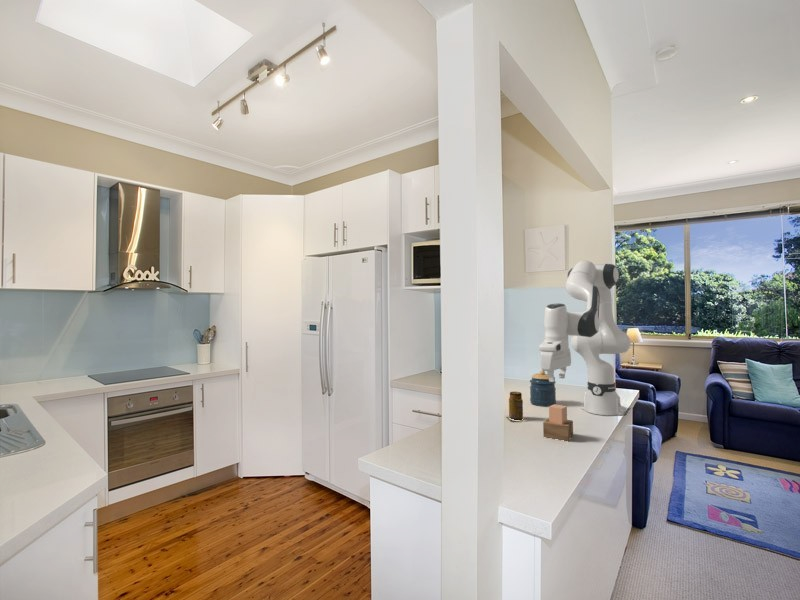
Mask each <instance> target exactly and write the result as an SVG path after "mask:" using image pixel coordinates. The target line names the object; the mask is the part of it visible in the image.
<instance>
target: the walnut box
mask: <svg viewBox="0 0 800 600" xmlns="http://www.w3.org/2000/svg"><path fill="white" fill-rule="evenodd" d="M542 425H543V426H542V427H543V428H542V429H543V438H544V437H546V438H545V439H549V438H552V439H551V440H555V439H558V440H557V441H561V440H564V441H563V442H567V441H568V442H569V441H570V440H571V439H572V437H573V436H574V420H571V419H567V422H566V423H564V424H557V423H552V422H549V417H548V418H547V419H545V421H543V423H542ZM570 438H571V439H570ZM569 439H570V440H569Z"/></svg>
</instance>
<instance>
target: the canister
mask: <svg viewBox="0 0 800 600" xmlns="http://www.w3.org/2000/svg"><path fill="white" fill-rule="evenodd" d="M530 377H531V379H530V380H529V382H530V386H529V391H530V392H529V393H530V397H529V401H530V404H532V405H534V406H537V407H549V406H551V405H554V404H556V405H557V399H556V398H557V396H556V390H557V389H556V383H557V382H556V380H555V381H554V382H550V381H549V376H548V374H547V373H546V371H543V370H542V369H541V370H540V371H539V373H534V374H532V375H531V376H530Z"/></svg>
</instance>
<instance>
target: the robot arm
mask: <svg viewBox="0 0 800 600" xmlns="http://www.w3.org/2000/svg"><path fill="white" fill-rule="evenodd" d="M619 275H620V274H619V270H618V267H617V266H616V265H615V264H613V263H603V264H599V263H598V264H597V263H596V264H594V263H593V262H591V261H590V260H580V261H578V262H577V263H576V264H575V265H574V266H573V267H572V268H570V269H569V270H568V273H567V279H566V282H565V289H566V292H567V293H568V295H570V297H572V298H573V299H576V300H579V301H583V302H585V303H586V310H584V311H583V310H582V311H568V310H567V306H566V304H564V303H550V304H548V305H546V306H545V309H544V316H543V319H544V320H543V326H544V327H543V328H544V330H545V331H544V337H543V338H544V340H543V342H541V343H540V344H539V346H538V348H539V349H538V350H539V351H540V356H539V357H540V368H541V370H543V371H545V372H547V373H546V374H548V376H549V381H550V382H554V381H555V382H556V376H555V375H554V373H555V371H556V370H559V374H558V375H559V376H558V378H559V379H566V371H567V367H570V366H571V365H572V357H571V355H572V354H571V349H570V348H569V346H570V345H571V347H572V349H573V350H574V351H575V352H576V353H578V355H580V356H581V357H582V358H583V360H584V362H585V364H586V367H587V377H588V379H587V380H588V381H587V383H586V384H587V385H586V387H587V390H586V391H585V392H584V405H582V406H581V410H584V411H585V412H587V413H589V414H593V415H601V416H624V415H625V412H626V409H627V408H626V406H624V405H621V397H620V396H619V394H618V392H617V389H616V388H617V382H615V376H614V375H615V374H614V373H615V372H614V367H613V365H612V364H611V363H610V362H607V361H605V360H603V359H601V358H600V355H605V354H607V355H616V354H624V353H627V352H628V351H629V349H630V348H631V340H630V337H629V335H628V334H627V333H625V332H624V331H622V329H620V328H619V326H618V325H617V324H616V322H615V320H614V315H613V302H612V301H613V299H612V290H611V289H612V288H613V287H614V286H615V285H616V284H617V283H618V281H619V277H620V276H619ZM569 336H572V337H571V339H570V345H569Z"/></svg>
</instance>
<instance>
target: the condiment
mask: <svg viewBox="0 0 800 600" xmlns="http://www.w3.org/2000/svg"><path fill="white" fill-rule="evenodd" d="M522 394H523V393H522V392H521V391H510V392H509V399H508V413H509V415H508V416H509V418H511V419H514V420H522V419H523V418H524V408H523V405H524V403H523V402H524V401H523V400H524V399H523V398H522V397H523V396H522ZM522 422H527V420H526V419H525V418H524V419H523V420H522V421H520V422H519V423H522Z"/></svg>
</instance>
